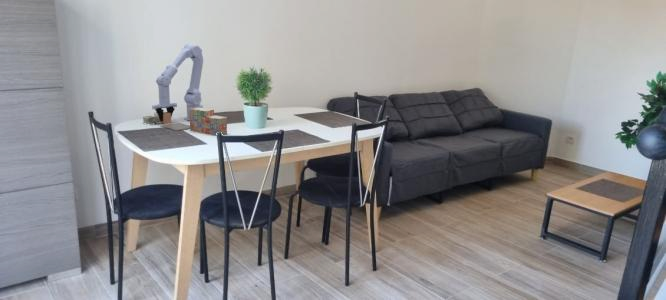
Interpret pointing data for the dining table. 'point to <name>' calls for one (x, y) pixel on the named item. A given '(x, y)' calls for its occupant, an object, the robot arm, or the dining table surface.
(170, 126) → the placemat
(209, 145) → the dining table surface
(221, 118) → the stack of blocks
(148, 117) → the sage block
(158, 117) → the grey cylinder
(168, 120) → the terracotta block
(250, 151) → the dining table surface
